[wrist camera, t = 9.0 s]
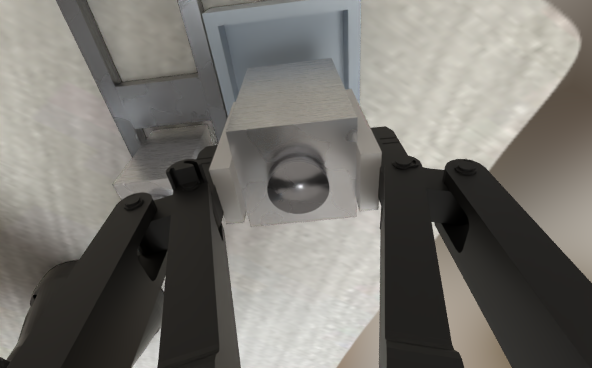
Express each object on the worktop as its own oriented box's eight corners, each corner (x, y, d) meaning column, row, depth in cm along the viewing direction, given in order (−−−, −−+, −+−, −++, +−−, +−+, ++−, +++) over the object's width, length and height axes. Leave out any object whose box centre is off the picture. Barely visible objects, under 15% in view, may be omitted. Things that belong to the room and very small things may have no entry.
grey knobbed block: (171, 175, 30) (137, 243, 23) (153, 130, 27) (106, 191, 20) (221, 170, 30) (201, 236, 23) (207, 124, 27) (180, 184, 20)
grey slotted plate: (249, 197, 32) (248, 205, 31) (163, 206, 32) (159, 214, 31) (179, -85, 19) (174, -87, 18) (37, -65, 19) (24, -66, 18)
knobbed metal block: (261, 142, 21) (248, 239, 14) (247, 67, 18) (221, 142, 11) (334, 134, 20) (359, 229, 13) (331, 58, 18) (362, 126, 11)
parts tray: (240, 135, 28) (236, 150, 26) (210, 7, 22) (201, 13, 20) (353, 123, 27) (359, 137, 25) (353, -11, 22) (360, -7, 19)
